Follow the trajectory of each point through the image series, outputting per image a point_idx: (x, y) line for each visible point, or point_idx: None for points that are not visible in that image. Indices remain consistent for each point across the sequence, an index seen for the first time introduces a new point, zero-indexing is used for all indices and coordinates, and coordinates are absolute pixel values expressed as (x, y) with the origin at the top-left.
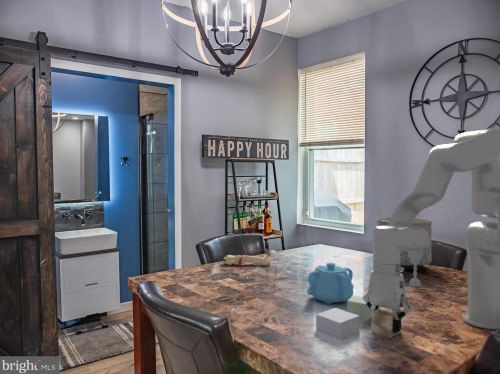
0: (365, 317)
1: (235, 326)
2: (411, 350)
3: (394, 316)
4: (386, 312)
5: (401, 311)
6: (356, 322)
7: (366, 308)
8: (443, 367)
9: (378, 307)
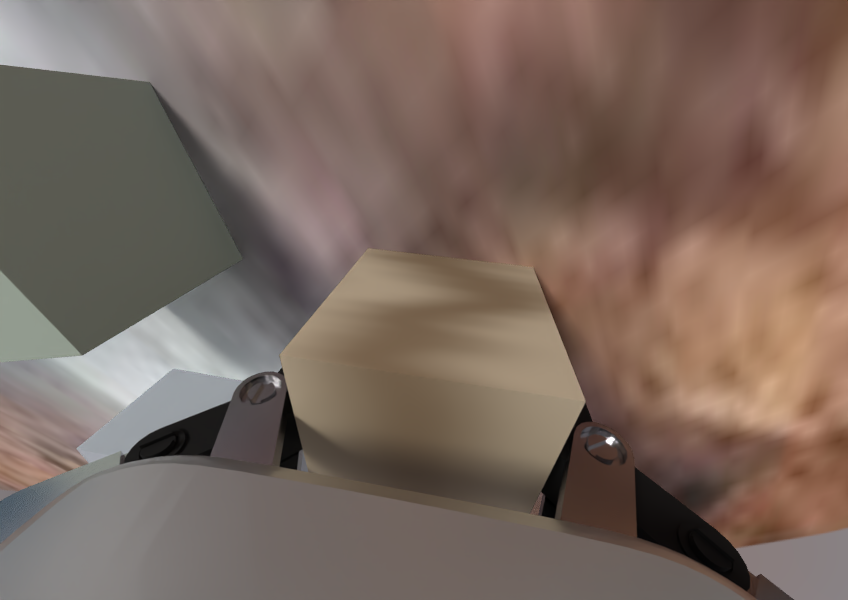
0: (213, 275)
1: None
2: (656, 455)
3: (546, 515)
4: (428, 474)
5: (634, 517)
6: (305, 467)
7: (126, 289)
8: (831, 522)
9: (283, 432)
